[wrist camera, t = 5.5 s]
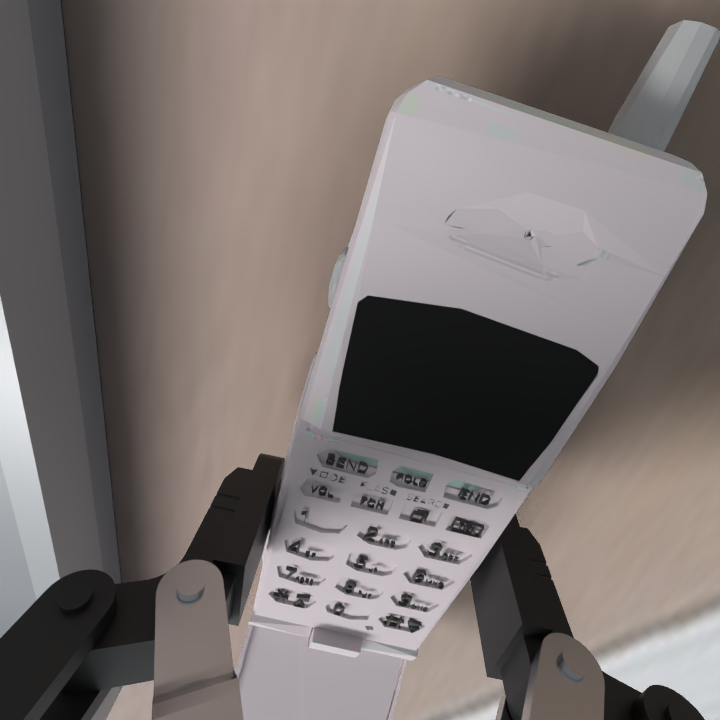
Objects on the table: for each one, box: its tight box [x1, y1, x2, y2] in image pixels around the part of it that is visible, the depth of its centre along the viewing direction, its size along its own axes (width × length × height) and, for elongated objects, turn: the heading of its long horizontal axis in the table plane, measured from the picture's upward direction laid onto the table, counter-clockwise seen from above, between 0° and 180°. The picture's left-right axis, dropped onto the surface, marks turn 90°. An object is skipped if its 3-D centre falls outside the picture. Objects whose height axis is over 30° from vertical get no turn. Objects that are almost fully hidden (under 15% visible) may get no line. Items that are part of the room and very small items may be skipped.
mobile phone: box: [235, 20, 720, 720], centre depth 11 cm, size 6×6×25 cm
